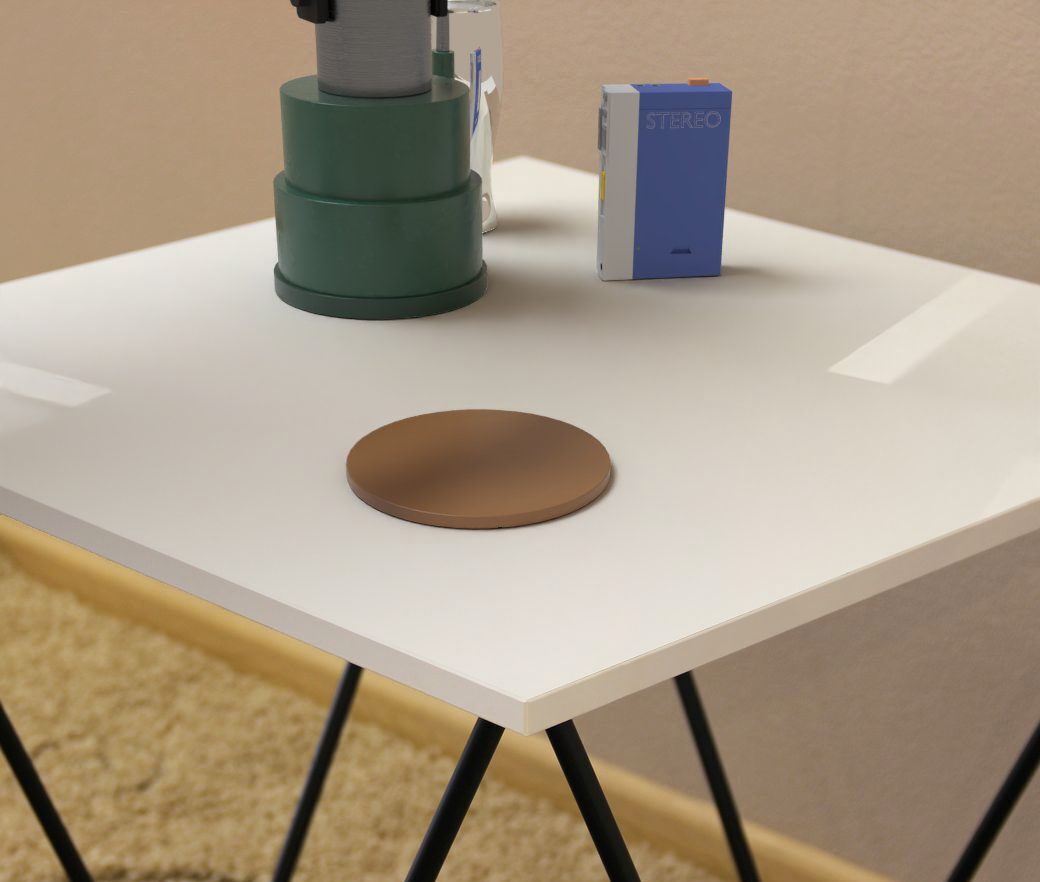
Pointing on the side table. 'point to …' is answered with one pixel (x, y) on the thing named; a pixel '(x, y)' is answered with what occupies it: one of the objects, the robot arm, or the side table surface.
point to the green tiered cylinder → (378, 203)
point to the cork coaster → (478, 468)
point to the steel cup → (375, 48)
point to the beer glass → (474, 78)
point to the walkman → (662, 179)
